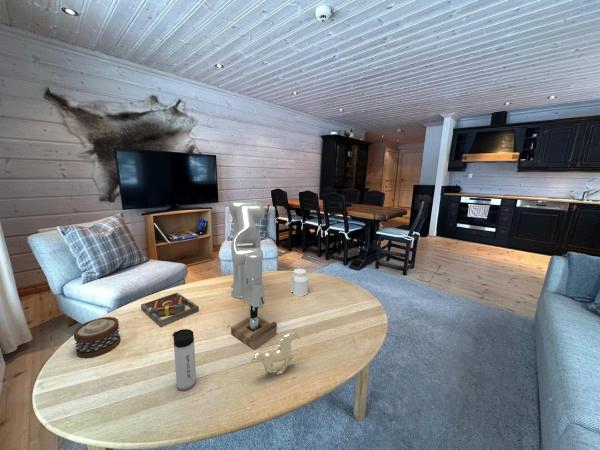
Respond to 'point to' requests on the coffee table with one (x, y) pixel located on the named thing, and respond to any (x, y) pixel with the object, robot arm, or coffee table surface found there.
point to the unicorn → (277, 354)
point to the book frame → (171, 319)
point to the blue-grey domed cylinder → (253, 324)
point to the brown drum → (97, 337)
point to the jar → (299, 282)
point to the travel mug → (184, 359)
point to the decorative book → (168, 306)
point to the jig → (256, 337)
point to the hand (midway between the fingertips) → (253, 316)
